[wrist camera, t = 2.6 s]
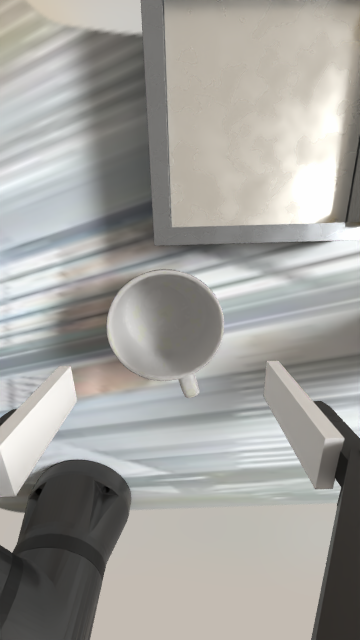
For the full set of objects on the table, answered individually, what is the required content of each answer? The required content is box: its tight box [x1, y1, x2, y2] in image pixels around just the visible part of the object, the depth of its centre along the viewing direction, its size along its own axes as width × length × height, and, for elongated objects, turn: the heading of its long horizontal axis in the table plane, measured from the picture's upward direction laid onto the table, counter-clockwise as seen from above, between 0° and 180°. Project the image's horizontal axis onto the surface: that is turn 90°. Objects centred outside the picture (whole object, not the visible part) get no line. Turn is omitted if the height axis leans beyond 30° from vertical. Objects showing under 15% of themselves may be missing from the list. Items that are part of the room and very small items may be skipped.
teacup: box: [106, 269, 224, 398], centre depth 26 cm, size 14×11×8 cm
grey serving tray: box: [141, 0, 360, 246], centre depth 21 cm, size 20×20×7 cm
